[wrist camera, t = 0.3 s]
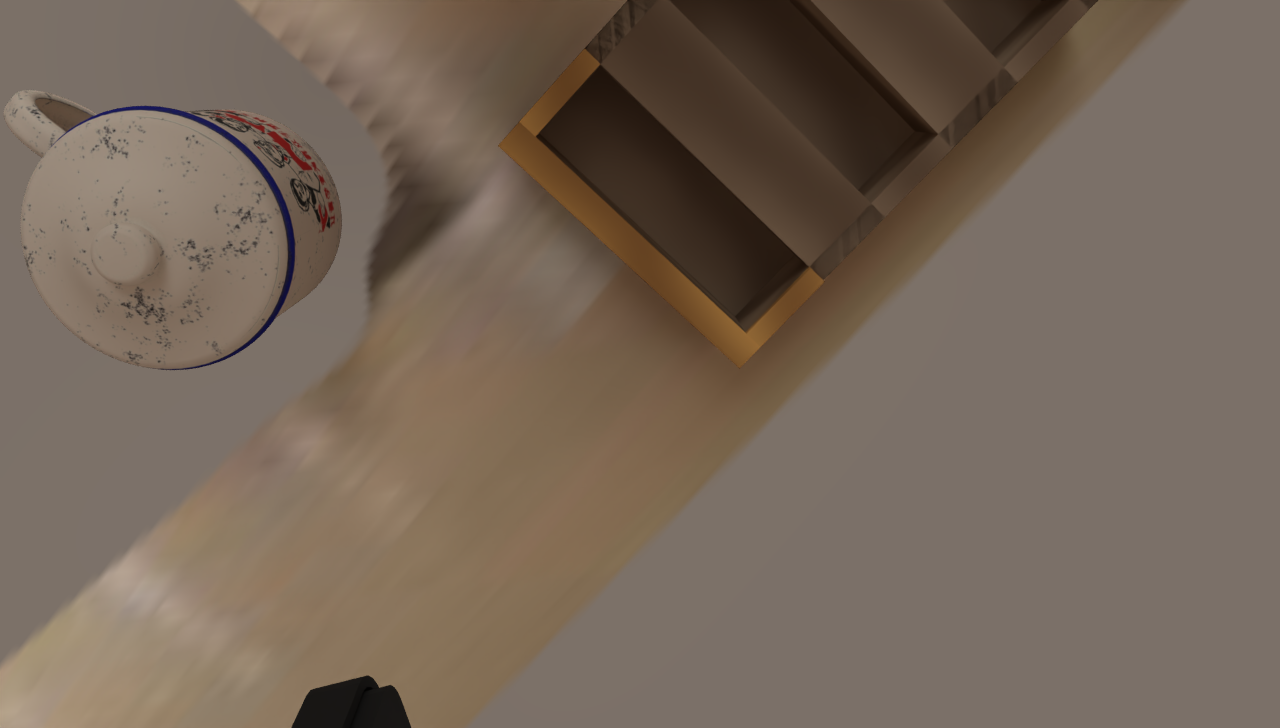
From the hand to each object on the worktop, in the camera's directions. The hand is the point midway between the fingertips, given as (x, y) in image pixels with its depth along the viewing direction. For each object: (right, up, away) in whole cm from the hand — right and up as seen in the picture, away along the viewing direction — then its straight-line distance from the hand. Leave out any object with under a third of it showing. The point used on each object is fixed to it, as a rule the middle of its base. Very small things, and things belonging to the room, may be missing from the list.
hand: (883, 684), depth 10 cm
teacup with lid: (-20, +10, +34) cm, 41 cm away
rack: (+4, +15, +33) cm, 37 cm away
